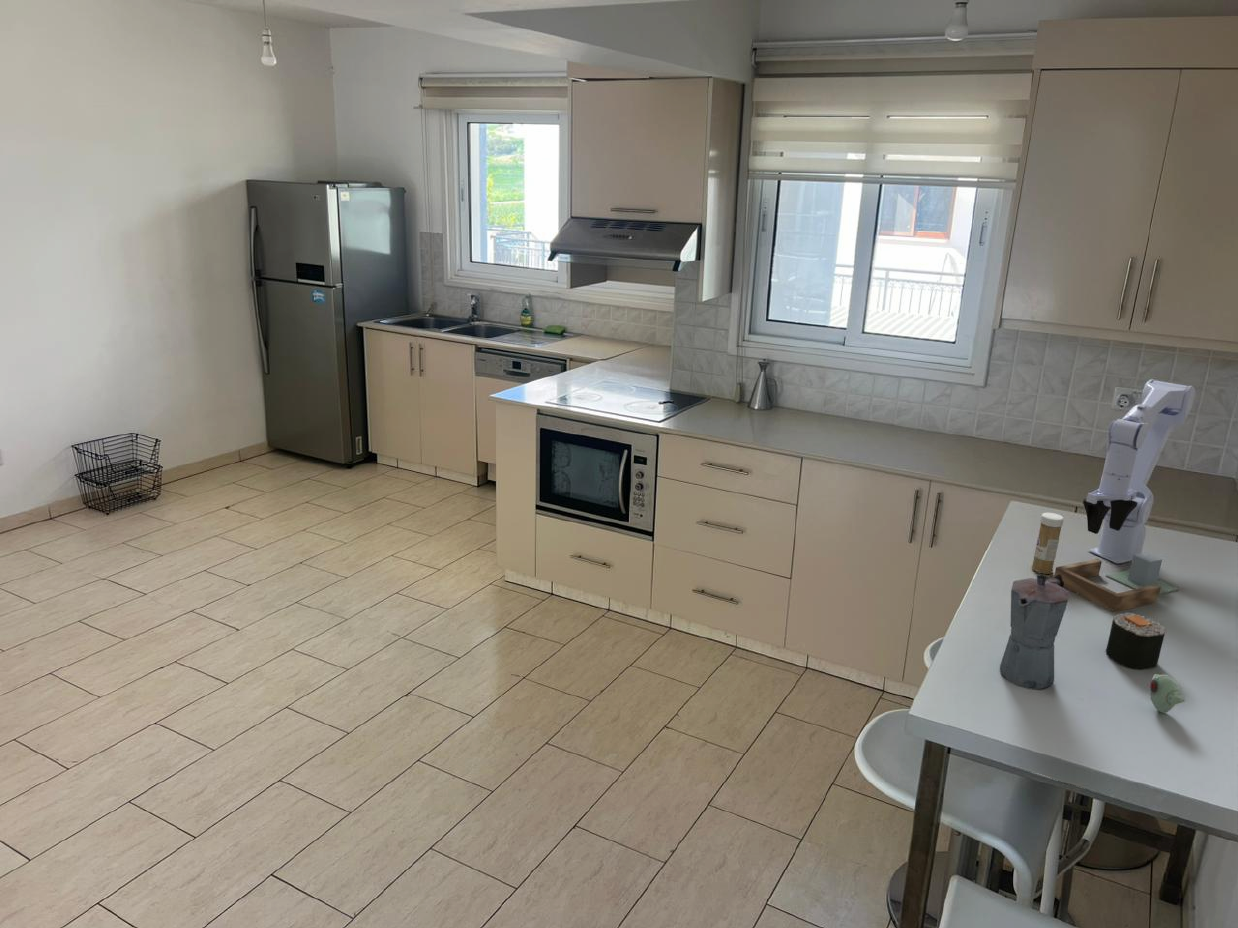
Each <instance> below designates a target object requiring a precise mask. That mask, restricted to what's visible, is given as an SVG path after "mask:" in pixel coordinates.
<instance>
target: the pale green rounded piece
mask: <svg viewBox="0 0 1238 928" xmlns="http://www.w3.org/2000/svg"><path fill="white" fill-rule="evenodd" d="M1150 681H1151V682H1150V684H1149V696H1150V697H1149V698H1150V701H1151V702H1152V704H1153V706H1154V708H1155V709H1156V710H1157V711H1158V712H1160V713H1164V714H1165V713H1168V712H1170V711H1171V710H1173V709H1174V707H1175V706H1177V705H1179V704H1181V703H1184V702H1186V700H1185V698H1184V697H1183V695H1182V693H1181V690H1180V687H1179V685H1178V683H1177V681H1176V680H1175V679H1174V678H1173V677H1171V676H1169V675H1168V674H1157V673H1155V674H1154V675H1153V676H1152V678H1151V680H1150Z"/></svg>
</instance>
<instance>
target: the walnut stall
mask: <svg viewBox="0 0 1238 928" xmlns="http://www.w3.org/2000/svg"><path fill="white" fill-rule="evenodd" d="M1102 561H1103V560H1101V559H1098V558H1095V559H1090V560H1086V561H1080V562H1075V563H1072V564H1066V565H1065V564H1064V565H1062V566H1061V565H1060V566H1056V567H1055V571H1054V575H1053V578H1055V577H1056V576H1057V575H1058V574H1060V575H1061V577H1062V581H1063V582H1064V586H1063V588H1064V589H1066V590H1068V591H1071V590H1072V591H1071V592H1073V591H1074V592H1073V593H1075V592H1076V593H1075V594H1077V593H1078V595H1079V596H1082V597H1083V598H1084V599H1085V598H1086V599H1087V600H1089V601H1092V602H1093V603H1096V604H1097V605H1100V606H1101V607H1104V608H1106V609H1108V610H1110V611H1112V612H1114V613H1116V612H1118V613H1119V612H1121V611H1125V610H1129V609H1134V608H1138V607H1142V606H1145V605H1146V606H1147V605H1150V604H1154V603H1157V602H1158V600H1159V593H1160V589H1161V587H1160V586H1158V585H1151V586H1147V587H1143V588H1139V589H1131V590H1127V591H1126V590H1125V591H1121V592H1118V593H1117V592H1115V591H1113V590H1111V589H1109V588H1107V587H1105V586H1102V585H1100V584H1099V583H1096V582H1094V581H1092V580H1090V579H1088V578H1091V577H1096V576H1099V575H1100V572H1101V568H1102V564H1103V563H1102Z"/></svg>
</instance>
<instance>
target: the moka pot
mask: <svg viewBox="0 0 1238 928" xmlns="http://www.w3.org/2000/svg"><path fill="white" fill-rule="evenodd" d="M1047 578H1048V577H1047V576H1046V575H1045V574H1038V575H1036V578H1034V577H1029V578H1024V579H1016V580H1014V581H1013V582H1012V587H1011V589H1010V592H1011V593H1010V628H1011V629H1010V635H1009V637H1008V640H1007V643H1006V646H1005V650H1004V652H1003V655H1002V658H1001V662H1000V665H999V672H1000V675H1001V677H1003V678H1004V679H1005V680H1006V681H1008V682H1009V683H1011V684H1013V685H1015V686H1019V687H1021V688H1025V689H1029V690H1030V689H1031V690H1032V689H1033V690H1040V689H1043V690H1044V689H1046V688H1049V687H1050V686H1051V685H1052V684H1054V682H1055V641H1056V637H1057V635H1058V634H1059V633H1058V632H1059V630H1060V627H1061V623H1062V621H1063V618H1064V614H1065V611H1066V609H1067V605H1068V602H1069V593H1070V591H1069V590H1068V589H1067V588H1065V587H1063V586H1064V582H1063V581H1062V577H1061V575H1060V574H1058V575H1057V576H1056V577H1055V578H1054V577H1050V578H1048V579H1047Z"/></svg>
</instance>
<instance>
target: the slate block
mask: <svg viewBox="0 0 1238 928" xmlns="http://www.w3.org/2000/svg"><path fill="white" fill-rule="evenodd" d="M1162 562H1163V559H1162V558H1160V557H1158V556H1156V555H1152V554H1150V553H1148V552H1141V554H1136V555H1133V559H1132V561H1131V564H1130V567H1129V570H1130V572H1129V577H1128V580H1130V581H1132V582H1134V583H1136V584H1139V585H1141V586H1143V587H1147V586H1151V585H1155V584H1156V583H1157V580H1159V579H1158V578H1159V575H1160V570H1161V567H1162Z"/></svg>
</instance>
